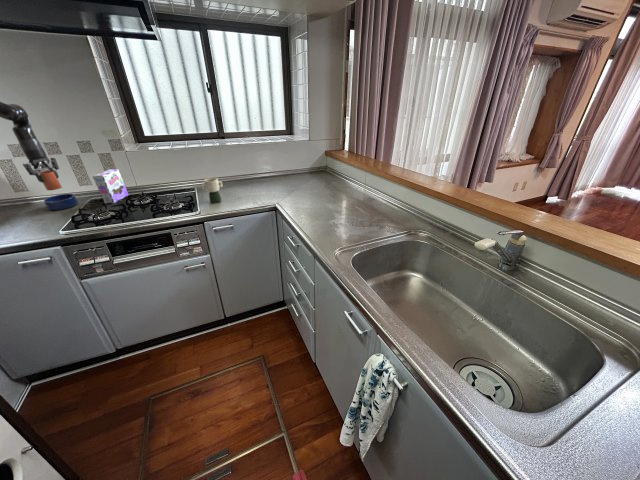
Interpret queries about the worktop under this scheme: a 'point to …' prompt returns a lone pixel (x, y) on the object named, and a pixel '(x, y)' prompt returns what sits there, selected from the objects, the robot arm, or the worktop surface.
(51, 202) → the bowl
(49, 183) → the cup
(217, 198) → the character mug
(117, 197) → the candy box
